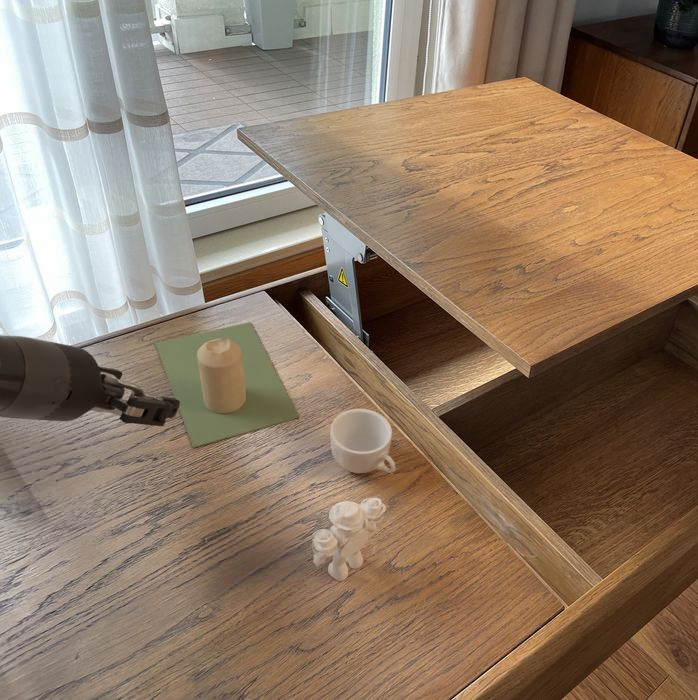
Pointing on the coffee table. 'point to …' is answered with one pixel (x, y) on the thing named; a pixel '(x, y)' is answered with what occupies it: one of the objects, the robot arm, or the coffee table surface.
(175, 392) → the desk mat
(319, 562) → the hat wearing toy figure
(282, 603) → the coffee table surface
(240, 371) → the candle
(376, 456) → the teacup
